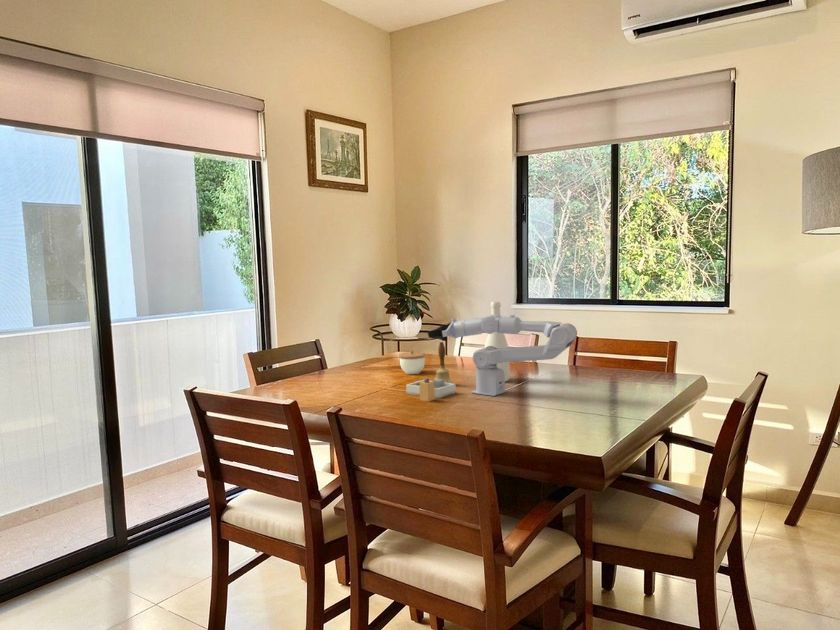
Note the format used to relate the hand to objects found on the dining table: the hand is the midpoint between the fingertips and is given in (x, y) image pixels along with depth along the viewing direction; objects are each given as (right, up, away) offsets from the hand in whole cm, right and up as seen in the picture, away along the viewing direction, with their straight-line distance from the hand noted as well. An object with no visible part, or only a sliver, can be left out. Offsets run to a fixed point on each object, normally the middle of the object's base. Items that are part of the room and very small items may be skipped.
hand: (433, 332), depth 219 cm
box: (-1, -21, -7) cm, 22 cm away
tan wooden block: (-2, -22, -17) cm, 28 cm away
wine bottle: (+24, -19, +12) cm, 33 cm away
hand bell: (+4, -20, +7) cm, 21 cm away
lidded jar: (-8, -18, +33) cm, 38 cm away
